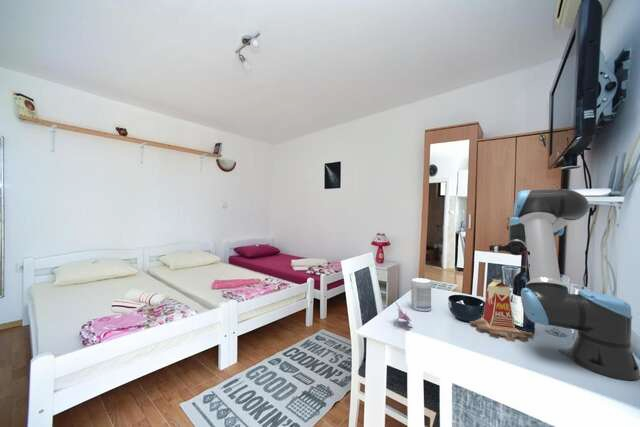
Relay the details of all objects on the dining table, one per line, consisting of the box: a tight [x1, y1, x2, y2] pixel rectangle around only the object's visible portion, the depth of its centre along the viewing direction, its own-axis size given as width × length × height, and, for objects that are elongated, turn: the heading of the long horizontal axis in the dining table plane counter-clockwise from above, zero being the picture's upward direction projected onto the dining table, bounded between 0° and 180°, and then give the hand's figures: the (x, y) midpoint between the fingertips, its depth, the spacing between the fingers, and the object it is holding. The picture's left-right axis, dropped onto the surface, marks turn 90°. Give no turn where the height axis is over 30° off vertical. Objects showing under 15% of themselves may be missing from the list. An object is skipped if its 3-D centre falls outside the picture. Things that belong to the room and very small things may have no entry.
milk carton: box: [482, 278, 515, 330], centre depth 110 cm, size 9×9×20 cm
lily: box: [393, 301, 413, 328], centre depth 113 cm, size 12×12×10 cm
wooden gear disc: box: [469, 315, 534, 342], centre depth 110 cm, size 22×22×3 cm
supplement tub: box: [410, 277, 432, 312], centre depth 133 cm, size 10×10×15 cm
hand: (513, 251), depth 117 cm, fingers open, 13 cm apart
